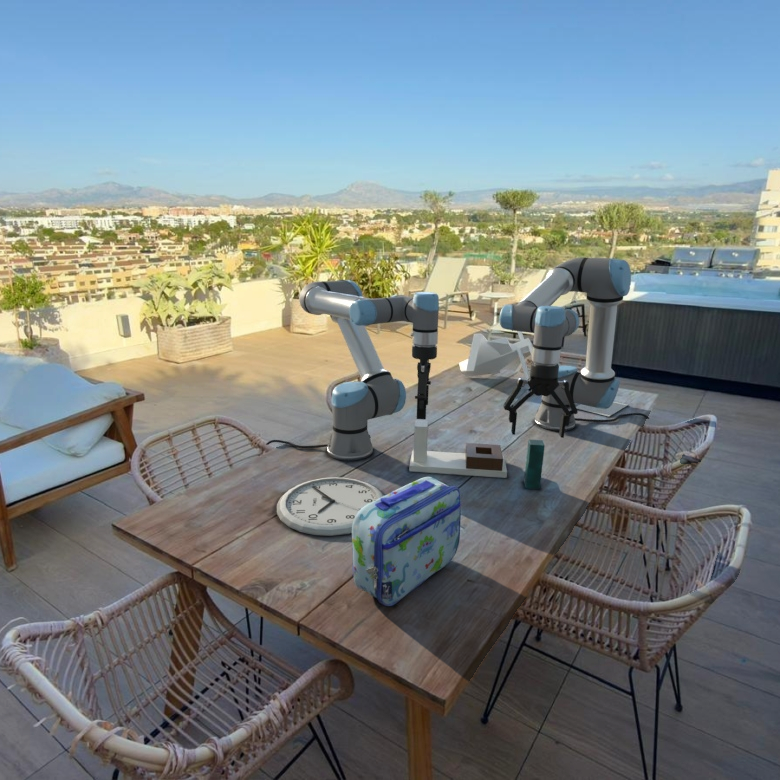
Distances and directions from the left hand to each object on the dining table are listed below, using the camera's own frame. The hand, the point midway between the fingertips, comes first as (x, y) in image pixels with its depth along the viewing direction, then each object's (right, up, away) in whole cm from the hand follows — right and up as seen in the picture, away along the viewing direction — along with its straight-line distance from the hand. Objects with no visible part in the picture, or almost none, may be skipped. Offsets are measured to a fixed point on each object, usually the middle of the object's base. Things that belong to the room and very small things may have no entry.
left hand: (422, 411), depth 163 cm
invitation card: (+81, -1, +63) cm, 103 cm away
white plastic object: (+43, +10, +94) cm, 104 cm away
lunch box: (-6, -34, -50) cm, 61 cm away
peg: (+32, -22, -8) cm, 40 cm away
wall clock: (-26, -25, -21) cm, 41 cm away
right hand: (+32, -6, -13) cm, 35 cm away
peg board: (+11, -18, +4) cm, 22 cm away
